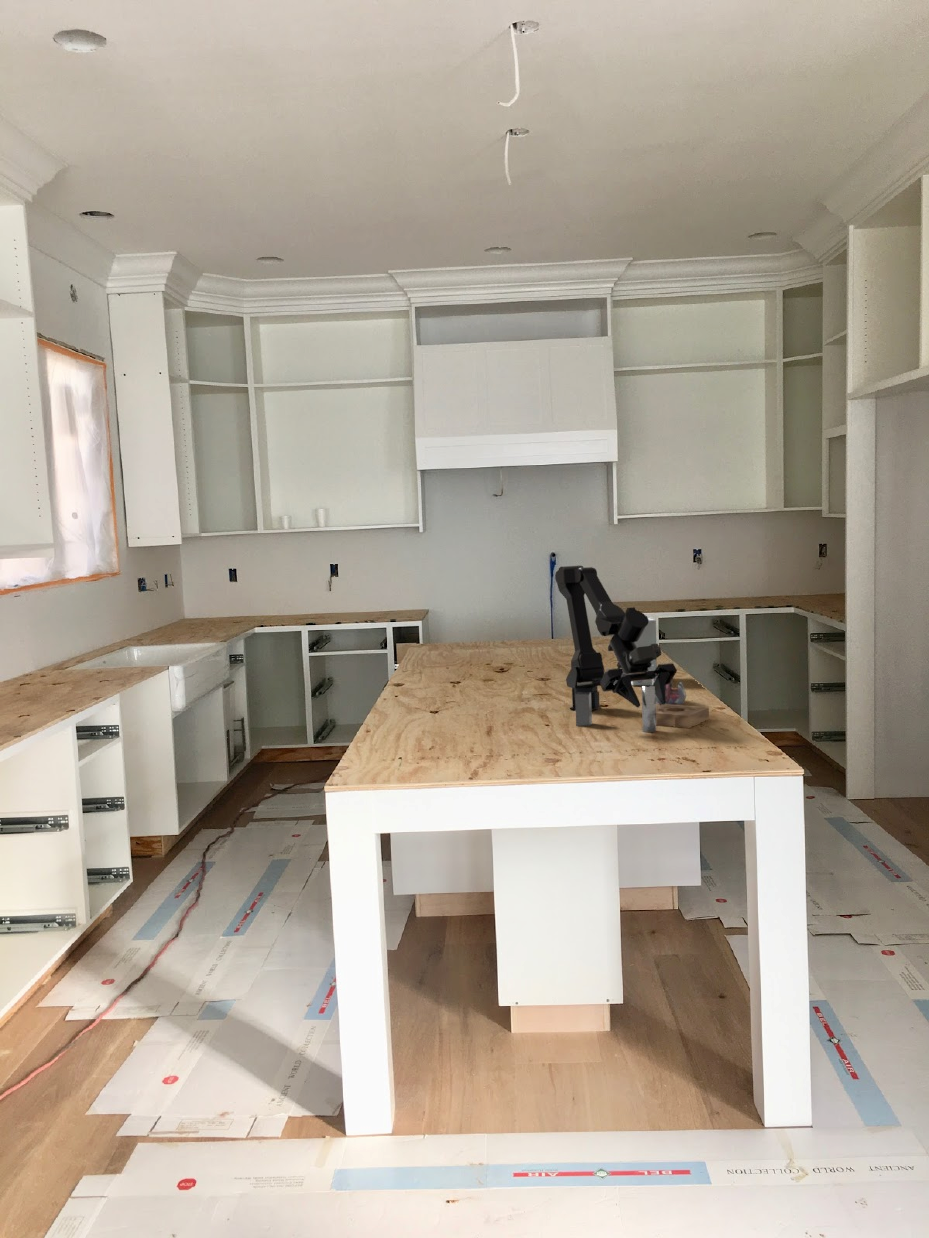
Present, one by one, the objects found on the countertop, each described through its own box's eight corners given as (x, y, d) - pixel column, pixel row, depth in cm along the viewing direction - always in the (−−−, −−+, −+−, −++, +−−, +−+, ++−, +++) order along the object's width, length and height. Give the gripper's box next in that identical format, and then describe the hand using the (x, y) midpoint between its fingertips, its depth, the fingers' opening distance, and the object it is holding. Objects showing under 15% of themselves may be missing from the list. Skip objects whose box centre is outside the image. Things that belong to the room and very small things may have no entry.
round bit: (640, 731, 238) (639, 686, 237) (646, 729, 240) (645, 684, 239) (652, 733, 236) (651, 687, 235) (658, 730, 239) (657, 685, 237)
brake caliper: (693, 698, 264) (665, 663, 265) (661, 722, 267) (632, 687, 269) (695, 691, 275) (668, 657, 276) (664, 714, 278) (637, 681, 279)
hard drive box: (657, 685, 301) (656, 620, 299) (632, 686, 301) (630, 621, 299) (649, 677, 316) (647, 615, 314) (625, 678, 316) (623, 616, 315)
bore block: (643, 723, 247) (643, 711, 247) (664, 715, 256) (664, 703, 256) (688, 728, 240) (688, 715, 239) (709, 719, 249) (708, 707, 249)
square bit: (576, 725, 248) (575, 694, 247) (578, 723, 251) (577, 691, 250) (589, 726, 247) (588, 694, 246) (592, 723, 250) (591, 692, 249)
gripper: (604, 636, 236) (628, 688, 227) (672, 630, 243) (698, 680, 234) (589, 664, 245) (612, 716, 235) (656, 658, 251) (680, 708, 242)
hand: (651, 704), depth 236 cm, fingers open, 7 cm apart
